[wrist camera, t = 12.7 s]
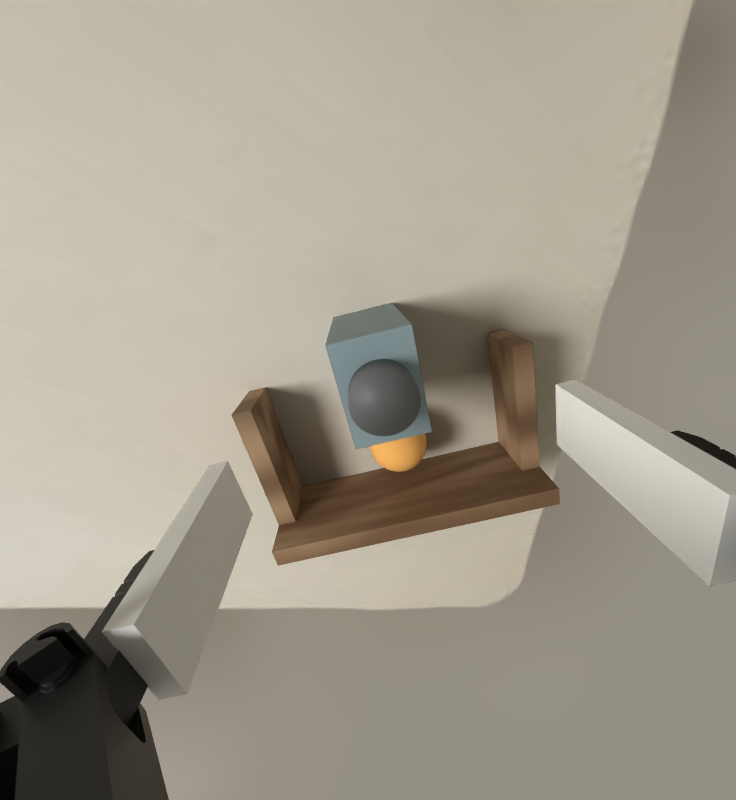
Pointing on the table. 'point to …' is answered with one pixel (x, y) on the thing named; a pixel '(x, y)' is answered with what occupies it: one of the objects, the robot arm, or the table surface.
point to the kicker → (378, 375)
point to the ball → (400, 453)
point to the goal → (406, 474)
